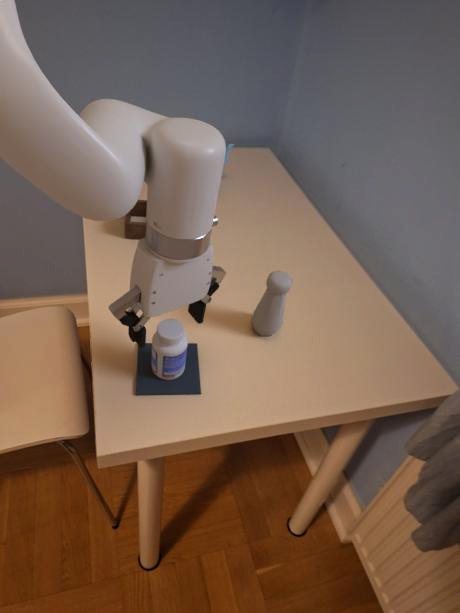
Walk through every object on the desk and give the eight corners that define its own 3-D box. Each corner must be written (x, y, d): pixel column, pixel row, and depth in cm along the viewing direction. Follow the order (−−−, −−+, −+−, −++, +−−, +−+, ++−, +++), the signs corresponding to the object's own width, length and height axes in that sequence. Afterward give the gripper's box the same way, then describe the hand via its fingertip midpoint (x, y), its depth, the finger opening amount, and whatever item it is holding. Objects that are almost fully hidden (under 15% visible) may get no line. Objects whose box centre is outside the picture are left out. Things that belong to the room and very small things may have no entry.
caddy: (125, 238, 88) (124, 223, 85) (127, 213, 94) (127, 198, 92) (169, 241, 90) (170, 226, 87) (169, 216, 96) (170, 201, 94)
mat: (135, 395, 62) (135, 394, 62) (138, 344, 69) (138, 342, 68) (200, 394, 64) (201, 393, 64) (196, 344, 71) (197, 343, 70)
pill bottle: (190, 362, 67) (196, 324, 60) (174, 386, 64) (178, 348, 57) (162, 348, 68) (164, 309, 62) (144, 371, 65) (145, 332, 58)
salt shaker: (272, 315, 79) (290, 264, 70) (284, 337, 75) (304, 286, 66) (245, 319, 77) (259, 267, 68) (255, 342, 73) (272, 290, 64)
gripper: (219, 202, 54) (201, 294, 66) (93, 232, 45) (100, 332, 57) (254, 234, 50) (229, 325, 62) (125, 273, 41) (125, 371, 53)
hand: (167, 328), depth 59 cm, fingers open, 9 cm apart
